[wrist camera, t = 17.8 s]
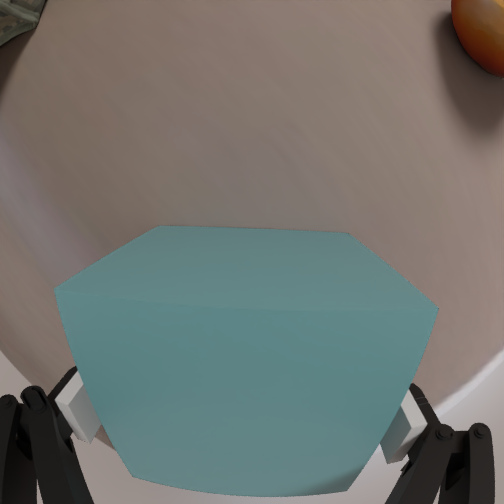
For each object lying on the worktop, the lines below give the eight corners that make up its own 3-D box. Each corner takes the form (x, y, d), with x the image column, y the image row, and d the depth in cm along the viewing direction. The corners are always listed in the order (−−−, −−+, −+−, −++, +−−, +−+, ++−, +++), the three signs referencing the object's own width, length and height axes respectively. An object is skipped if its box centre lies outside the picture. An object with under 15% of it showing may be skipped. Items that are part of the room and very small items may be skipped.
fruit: (531, 121, 10) (571, 73, 3) (444, 74, 13) (448, 4, 6) (530, 51, 8) (550, -3, 1) (453, 13, 11) (449, -51, 4)
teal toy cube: (173, 373, 17) (132, 476, 9) (158, 225, 15) (53, 288, 6) (322, 381, 17) (346, 491, 9) (348, 233, 14) (438, 307, 6)
